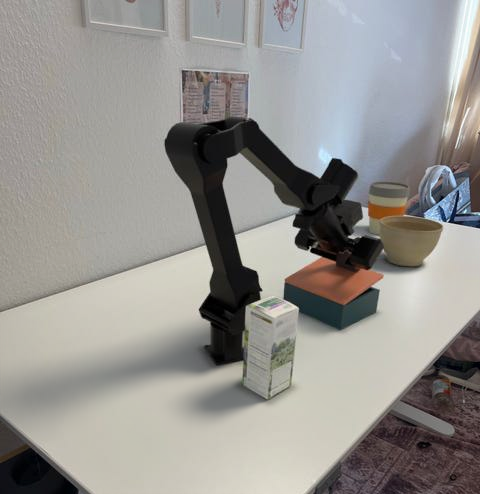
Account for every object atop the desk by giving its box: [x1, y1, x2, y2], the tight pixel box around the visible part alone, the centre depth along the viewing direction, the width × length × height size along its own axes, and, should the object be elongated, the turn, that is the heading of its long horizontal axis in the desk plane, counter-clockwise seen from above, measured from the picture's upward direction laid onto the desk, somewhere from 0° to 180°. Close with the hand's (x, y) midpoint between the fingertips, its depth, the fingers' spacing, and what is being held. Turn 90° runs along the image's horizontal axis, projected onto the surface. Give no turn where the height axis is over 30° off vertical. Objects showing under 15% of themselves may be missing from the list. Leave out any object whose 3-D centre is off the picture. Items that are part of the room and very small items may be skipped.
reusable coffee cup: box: [367, 181, 411, 236], centre depth 155 cm, size 13×13×15 cm
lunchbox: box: [282, 281, 381, 331], centre depth 102 cm, size 13×16×5 cm
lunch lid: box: [284, 250, 384, 305], centre depth 100 cm, size 13×16×5 cm
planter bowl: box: [379, 215, 445, 267], centre depth 130 cm, size 16×16×11 cm
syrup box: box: [241, 295, 300, 400], centre depth 74 cm, size 6×6×14 cm
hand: (350, 264), depth 103 cm, fingers closed on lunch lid, 5 cm apart
